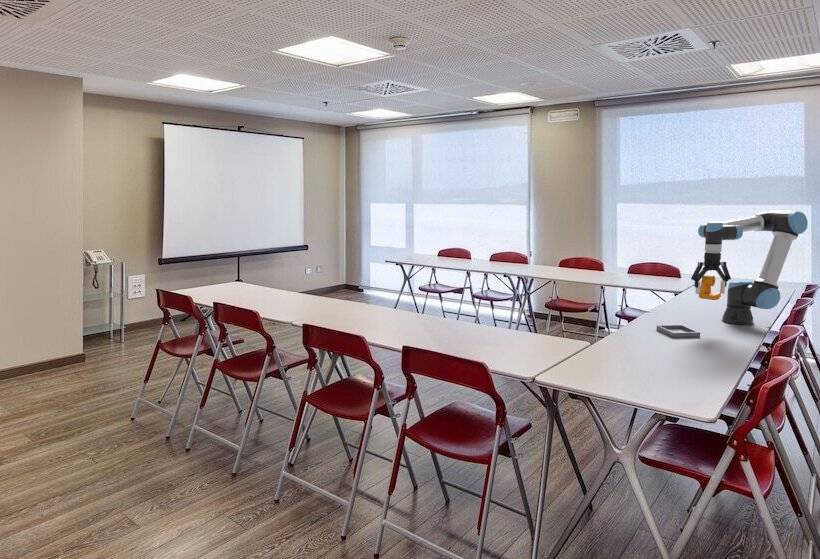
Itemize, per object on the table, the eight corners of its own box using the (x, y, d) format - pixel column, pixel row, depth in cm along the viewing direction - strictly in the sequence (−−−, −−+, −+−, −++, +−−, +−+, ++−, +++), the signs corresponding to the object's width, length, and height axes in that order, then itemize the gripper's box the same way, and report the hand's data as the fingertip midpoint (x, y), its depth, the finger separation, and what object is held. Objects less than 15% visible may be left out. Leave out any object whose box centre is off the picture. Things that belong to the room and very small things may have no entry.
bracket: (713, 300, 287) (715, 277, 285) (698, 299, 292) (700, 276, 291) (721, 298, 294) (722, 275, 293) (706, 296, 300) (707, 273, 298)
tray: (682, 329, 301) (682, 324, 301) (700, 337, 285) (700, 332, 284) (656, 329, 301) (656, 325, 300) (672, 337, 284) (673, 333, 284)
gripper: (731, 251, 294) (728, 291, 297) (685, 251, 293) (682, 292, 296) (740, 252, 287) (737, 294, 290) (693, 253, 285) (690, 295, 289)
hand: (709, 293), depth 293 cm, fingers closed on bracket, 12 cm apart
